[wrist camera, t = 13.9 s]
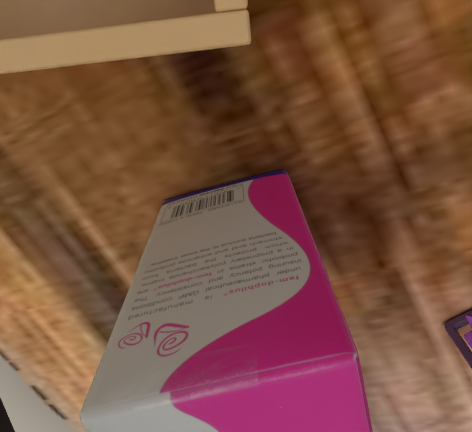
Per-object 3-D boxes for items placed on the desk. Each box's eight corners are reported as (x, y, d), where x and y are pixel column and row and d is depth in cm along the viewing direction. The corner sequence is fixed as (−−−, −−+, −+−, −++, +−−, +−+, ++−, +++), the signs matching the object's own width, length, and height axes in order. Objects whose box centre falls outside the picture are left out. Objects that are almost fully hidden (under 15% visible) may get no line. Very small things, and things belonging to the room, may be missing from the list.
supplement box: (200, 305, 21) (161, 579, 10) (161, 198, 19) (60, 407, 8) (314, 279, 20) (398, 541, 10) (288, 165, 18) (359, 345, 7)
